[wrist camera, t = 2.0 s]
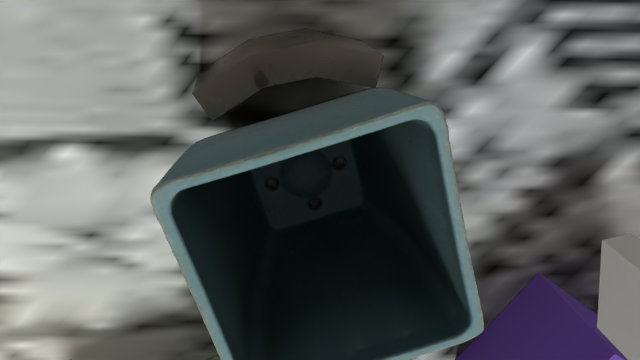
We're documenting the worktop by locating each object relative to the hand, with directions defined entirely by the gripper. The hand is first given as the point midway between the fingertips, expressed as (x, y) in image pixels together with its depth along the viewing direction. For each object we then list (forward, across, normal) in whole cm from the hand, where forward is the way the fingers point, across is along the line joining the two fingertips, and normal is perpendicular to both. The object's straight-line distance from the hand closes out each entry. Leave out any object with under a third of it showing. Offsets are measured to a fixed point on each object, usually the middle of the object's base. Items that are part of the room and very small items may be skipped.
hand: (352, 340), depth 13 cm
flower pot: (+13, 0, 0) cm, 13 cm away
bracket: (+13, -13, +16) cm, 24 cm away
